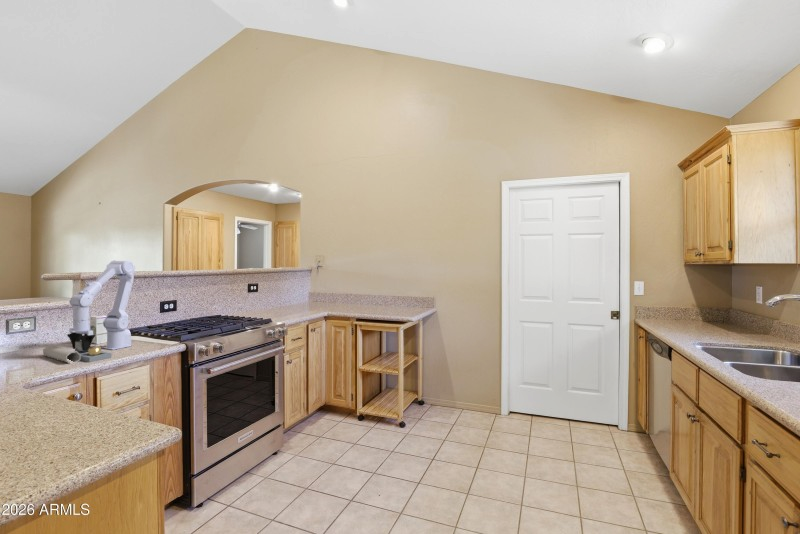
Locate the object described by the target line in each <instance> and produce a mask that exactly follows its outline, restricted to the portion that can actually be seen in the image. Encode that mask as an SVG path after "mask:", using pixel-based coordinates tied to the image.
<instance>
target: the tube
mask: <svg viewBox="0 0 800 534" xmlns="http://www.w3.org/2000/svg"><path fill="white" fill-rule="evenodd" d="M42 354H43V355H44V356H45V357H46V356H48V358H50V357H51V358H50V359H53V358H54V359H53V360H56V359H58V360H57V361H60V360H61V362H63V361H64V362H63V363H66V362H67V364H69V362H68V361H67V359H69V360H71V361H73V362H77V363H79V361H81V360H80V354H79V353H78V352H77V351H75V350H71V349H66V348H62V347H58V346H55V345H50V346H46V347H45V348H44V349H42Z"/></svg>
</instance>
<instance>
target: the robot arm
mask: <svg viewBox="0 0 800 534" xmlns="http://www.w3.org/2000/svg"><path fill="white" fill-rule="evenodd" d="M135 269H136V266H135V265H134V263H133V262H132V261H131V260H111V261H110V262H109V263H108V264H106V267H105V269H104V270H103V272H102V273H100V275H99V276H98V277H97V278H96V280H94V281H90V282H87V283H86V285H85V286H84V287H83V288H82V289H81V290H79V292H78V293H76V294H74V295H72V296H71V298H70V300H69V301H68V302H69V304H70V306H71V309H72V323H73V324H72V327H71V328H69V333H67V334H66V336H67V337H68V339H69V340H70V343H71V346H72V349H74V350H75V341H79V340H81V342H82V347H83V351H86V350H88V348H90V347H91V345H92V343H91V342H92V340H93V338H94V337H95V335H94V334H93V331H92V330H90V306H91V305H92V304H93V300H94V299H95V297H96V296H97V295H98V294H99V293H100V292H101V291H102V290H103V285H104V284H106V283H107V282H108V281H109V280H110V279H111V278H112V277H114V276H116V277H117V278H118V279H119V283H118V287H117V290H116V291H117V292H116V295H115V300H114V301H113V302H114V303H113V305H112V310H110V311H109V312H108V313H107V314H106V316H107V317H106V318H105V319H104V321H103V326H104V327H105V328H106V330H107V342H106V344H107V345H106V346H104V347H102V349H104V350H105V349H106V350H110V351H114V350H119V349H124V348H130V347H132V334H131V333H132V332H131V331H130V329H128V327H129V323H130V321H129V315H128V313H127V311H126V309H127V306H128V303H129V298H130V295H131V291H132V287H133V283H134V279H135V275H134V273H135Z"/></svg>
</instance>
